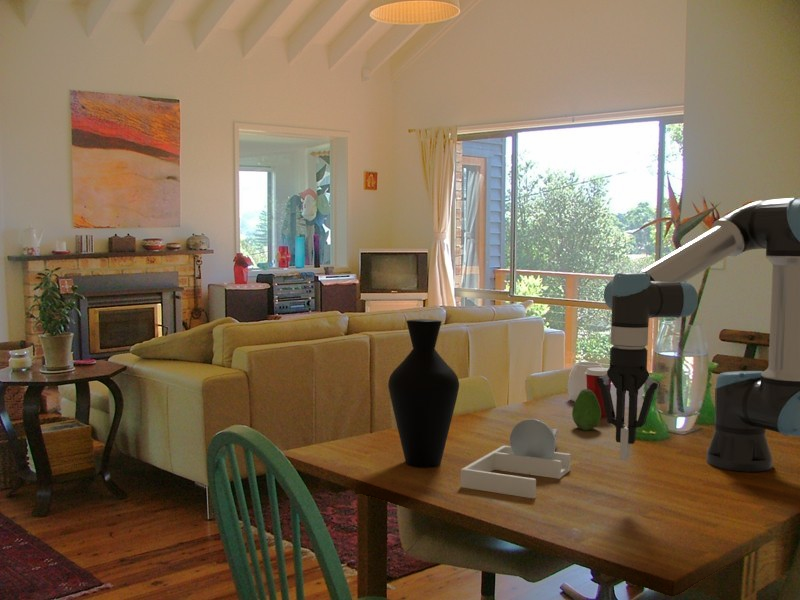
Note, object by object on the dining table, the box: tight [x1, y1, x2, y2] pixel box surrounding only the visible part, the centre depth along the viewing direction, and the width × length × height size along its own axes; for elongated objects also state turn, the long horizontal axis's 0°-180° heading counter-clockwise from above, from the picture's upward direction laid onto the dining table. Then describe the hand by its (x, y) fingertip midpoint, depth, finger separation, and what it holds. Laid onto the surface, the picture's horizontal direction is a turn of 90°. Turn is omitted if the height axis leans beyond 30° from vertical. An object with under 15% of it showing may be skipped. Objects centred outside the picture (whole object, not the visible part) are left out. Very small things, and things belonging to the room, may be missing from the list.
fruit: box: [571, 389, 602, 431], centre depth 243 cm, size 8×8×12 cm
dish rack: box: [460, 445, 571, 499], centre depth 194 cm, size 17×25×4 cm
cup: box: [567, 361, 604, 403], centre depth 283 cm, size 13×13×14 cm
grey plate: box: [509, 418, 557, 459], centre depth 201 cm, size 11×1×11 cm, turn 61°
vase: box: [387, 318, 460, 469], centre depth 205 cm, size 17×17×35 cm
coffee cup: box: [585, 367, 612, 419], centre depth 261 cm, size 8×8×15 cm
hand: (624, 458), depth 178 cm, fingers closed
